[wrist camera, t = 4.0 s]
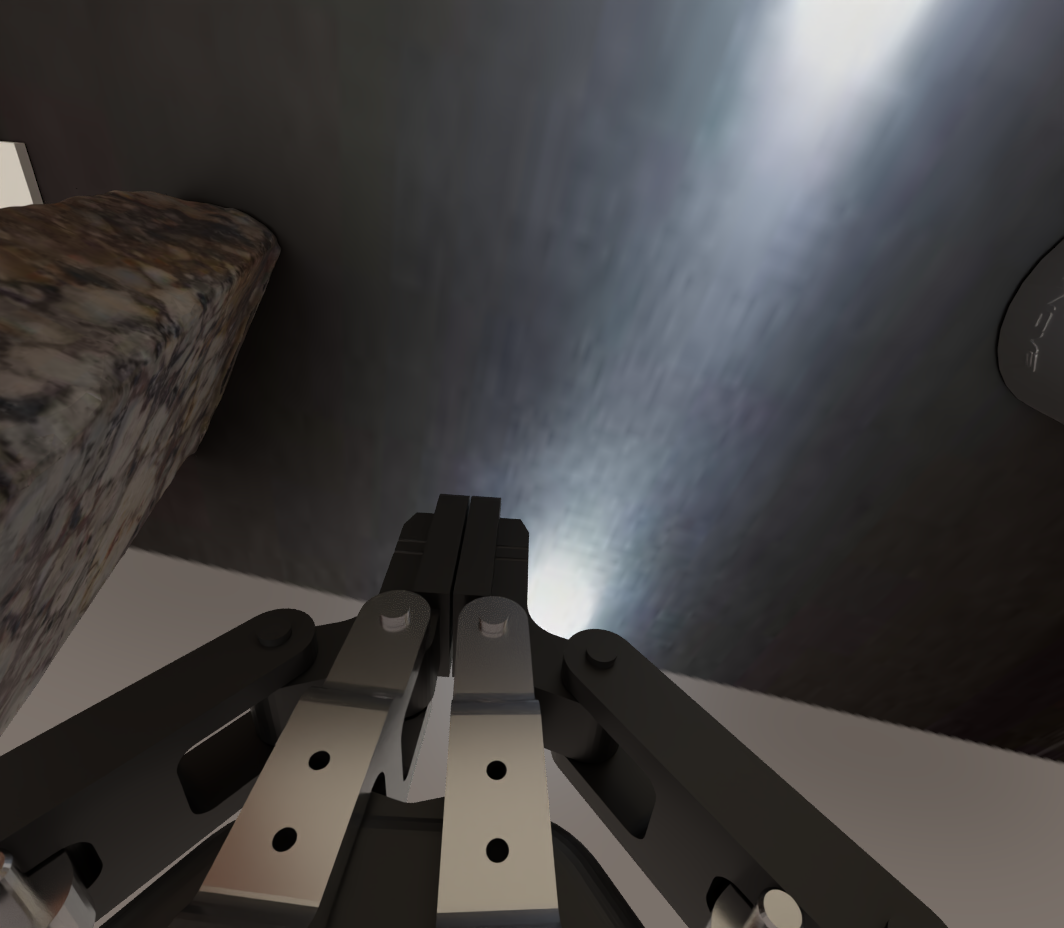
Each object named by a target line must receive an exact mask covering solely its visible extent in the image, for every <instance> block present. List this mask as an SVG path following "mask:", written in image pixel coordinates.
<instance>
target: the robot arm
mask: <svg viewBox="0 0 1064 928" xmlns="http://www.w3.org/2000/svg"><path fill="white" fill-rule="evenodd" d="M998 360H999V369H1000V372H1001V374H1002V377H1003V379H1004V382H1005V384H1006V386H1007V387H1008V388H1009V389H1010V391H1011V392H1012V393H1013V394H1014V395H1015V397H1016V398H1017V399H1019V400H1021V401H1022V402H1024V403H1025V404H1027V405H1029V406H1030V407H1032V408H1034V409H1036V410H1038V411H1039V412H1041V413H1043V414H1045V415H1047V416H1049V417H1051V418H1053V419H1055V420H1056V421H1058V422H1060V423H1062V424H1064V240H1062V241H1061V242H1060V243H1059V244H1058V245H1057V246H1056V247H1055V248H1054V249H1053V250H1052V251H1051V252H1050V253H1048V254H1047V255H1046V256H1045V257H1044V258H1043V259H1042V260H1041V261H1040V262H1039V264H1038V265H1037V266H1036V267H1035V268H1034V270H1033V271H1032V272H1031V273H1030V275H1029V276H1028V277H1027V278H1026V280H1025V281H1024V282H1023V283H1022V285H1021V287H1020V288H1019V290H1018V292H1017V294H1016V295H1015V297H1014V299H1013V300H1012V302H1011V304H1010V306H1009V308H1008V311H1007V313H1006V316H1005V319H1004V321H1003V324H1002V327H1001V330H1000V337H999V343H998ZM500 511H501V498H495V497H480V496H472V498H471V503H470V496H464V495H449V494H440V496H439V499H438V503H437V506H436V510H435V513H434V514H432V513H416V514H415V515H414V516H413V517H411V518H410V519H409V520H408V521H407V522H406V523H405V524H404V526H403V528H402V531H401V534H400V537H399V541H398V542H397V545H396V548H395V553H394V554H393V556H392V559H391V562H390V565H389V568H388V570H387V573H386V576H385V579H384V582H383V584H382V587H381V590H380V593H379V594H378V595H376V596H374V597H373V598H371V599H370V600H368V601H367V602H366V603H365V604H364V605H363V607H362V608H361V610H360V612H359V614H358V616H357V617H354V618H352V619H349V620H346V621H342V622H338V623H332V624H326V625H321V626H315V624H314V622H313V620H312V618H311V617H310V616H309V615H308V614H306V613H305V612H302V611H300V610H296V609H276V610H272V611H268V612H265V613H262V614H260V615H258V616H256V617H254V618H252V619H250V620H248V621H247V622H245V623H243V624H241V625H239V626H238V627H236V628H234V629H232V630H230V631H229V632H227V633H225V634H223V635H221V636H219V637H217V638H216V639H214V640H212V641H210V642H209V643H206V644H205V645H203V646H201V647H199V648H197V649H196V650H194V651H192V652H190V653H189V654H186V655H185V656H183V657H181V658H179V659H177V660H175V661H174V662H172V663H170V664H168V665H166V666H165V667H163V668H161V669H159V670H157V671H155V672H153V673H152V674H150V675H148V676H146V677H144V678H143V679H141V680H139V681H137V682H135V683H134V684H132V685H130V686H128V687H126V688H124V689H123V690H121V691H119V692H117V693H115V694H114V695H111V696H110V697H108V698H106V699H104V700H102V701H101V702H99V703H97V704H95V705H93V706H92V707H90V708H88V709H86V710H84V711H82V712H80V713H79V714H77V715H75V716H73V717H71V718H69V719H68V720H66V721H64V722H62V723H60V724H59V725H57V726H55V727H53V728H51V729H49V730H48V731H46V732H44V733H42V734H40V735H38V736H37V737H35V738H33V739H31V740H29V741H28V742H26V743H24V744H22V745H20V746H18V747H16V748H15V749H13V750H11V751H9V752H7V753H6V754H4V755H2V756H0V928H93V926H94V923H95V922H96V921H98V920H99V919H100V918H101V917H103V916H104V915H105V914H107V913H108V912H109V911H110V910H112V909H113V908H114V907H115V906H117V905H118V904H119V903H121V902H122V901H123V900H125V899H126V898H127V897H128V896H130V895H131V894H132V893H134V892H135V891H136V890H137V889H138V888H140V887H141V886H143V885H144V884H145V883H146V882H148V881H149V880H150V879H151V878H153V877H154V876H155V875H157V874H158V873H159V872H160V871H161V870H163V869H164V868H165V867H167V866H168V865H169V864H171V863H172V862H173V861H175V860H176V859H177V858H178V857H180V856H181V855H182V854H184V853H185V852H186V851H187V850H189V849H190V848H191V847H192V846H194V845H195V844H196V843H198V842H199V841H200V840H201V839H203V838H204V837H205V836H207V835H208V834H209V833H210V832H212V831H213V830H214V829H216V828H217V827H218V826H219V825H221V824H222V823H223V822H225V821H226V820H227V819H228V818H230V817H231V816H232V815H234V814H235V813H236V812H237V811H238V810H240V809H241V808H242V810H241V811H240V813H239V815H238V817H237V819H236V820H234V821H232V822H231V823H229V824H227V825H226V826H224V827H223V828H221V829H220V830H219V831H217V832H215V833H214V834H212V835H211V836H210V837H209V838H207V839H206V840H205V841H203V842H202V843H201V844H200V845H199V846H197V847H196V848H195V849H194V850H193V851H191V852H190V853H189V854H188V855H186V856H185V857H184V858H183V859H182V860H180V861H179V862H178V863H177V864H175V865H174V866H173V867H172V868H171V869H169V870H168V871H167V872H166V873H165V874H163V875H162V876H161V877H160V878H158V879H157V880H156V881H155V882H154V883H152V884H151V885H150V886H149V887H148V888H146V889H145V890H144V891H143V892H142V893H140V894H139V895H138V896H137V897H135V898H134V899H133V900H132V901H131V902H129V903H128V904H127V905H126V906H125V907H123V908H122V909H121V910H120V911H119V912H117V913H116V914H115V915H114V916H112V917H111V918H110V919H109V920H107V922H105V923H104V924H103V925H101V926H100V927H99V928H645V927H644V926H643V924H642V923H641V921H640V920H639V919H638V917H637V916H636V915H635V913H634V912H633V910H632V909H631V908H630V906H629V905H628V903H627V902H626V900H625V899H624V898H623V896H622V895H621V894H620V892H619V891H618V889H617V888H616V887H615V885H614V884H613V882H612V881H611V879H610V878H609V877H608V875H607V874H606V873H605V871H604V870H603V868H602V867H601V865H600V864H599V863H598V861H597V860H596V859H595V858H594V856H593V855H592V854H591V853H590V852H589V851H588V850H587V848H586V847H585V846H584V845H583V844H582V843H581V842H579V841H578V840H577V839H576V838H575V837H574V836H573V835H571V834H570V833H569V832H567V831H566V830H564V829H563V828H561V827H560V826H558V825H557V824H555V823H553V822H551V821H550V811H549V800H548V789H547V778H546V767H545V756H544V748H546V749H548V750H551V754H552V757H553V759H554V762H555V763H556V764H557V766H558V768H559V769H560V770H561V771H562V772H563V774H564V775H565V776H566V777H567V778H568V780H569V781H570V782H571V783H572V785H573V786H574V787H575V788H576V790H577V791H578V792H579V793H580V795H581V796H582V797H583V798H584V799H585V801H586V802H587V803H588V804H589V806H590V807H591V808H592V809H593V810H594V812H595V813H596V814H597V815H598V816H599V818H600V819H601V820H602V822H603V823H604V824H605V825H606V827H607V828H608V829H609V830H610V831H611V833H612V834H613V835H614V836H615V838H616V839H617V840H618V841H619V842H620V844H621V845H622V846H623V847H624V849H625V850H626V851H627V852H628V853H629V855H630V856H631V857H632V858H633V860H634V861H635V862H636V863H637V865H638V866H639V867H640V868H641V869H642V871H643V872H644V873H645V874H646V876H647V877H648V878H649V879H650V880H651V882H652V883H653V884H654V885H655V887H656V888H657V889H658V890H659V892H660V893H661V894H662V895H663V896H664V898H665V899H666V900H667V901H668V903H669V904H670V905H671V906H672V908H673V909H674V910H675V911H676V913H677V914H678V915H679V916H680V917H681V919H682V920H683V921H684V922H685V924H686V925H687V926H688V927H689V928H948V927H947V926H946V925H945V924H944V923H943V921H942V920H941V919H940V918H939V917H938V916H937V915H936V914H935V913H934V912H933V911H932V910H931V909H930V908H928V907H927V906H926V905H925V904H924V903H923V902H922V901H920V900H919V899H918V898H917V897H916V896H915V895H913V893H911V892H910V891H909V890H908V889H907V888H906V887H905V886H903V885H902V884H901V883H900V882H899V881H898V880H897V879H896V878H894V877H893V876H892V875H891V874H890V873H889V872H888V871H886V870H885V869H884V868H883V867H882V866H881V865H880V864H879V863H877V862H876V861H875V860H874V859H873V858H872V857H871V856H870V855H868V854H867V853H866V852H865V851H864V850H863V849H862V848H860V847H859V846H858V845H857V844H856V843H855V842H854V841H853V840H851V839H850V838H849V837H848V836H847V835H846V834H845V833H843V832H842V831H841V830H840V829H839V828H838V827H837V826H836V825H834V824H833V823H832V822H831V821H830V820H829V819H827V817H825V816H824V815H823V814H822V813H821V812H819V810H817V809H816V808H815V807H814V806H813V805H812V804H811V803H809V802H808V801H807V800H806V799H805V798H804V797H803V796H802V795H800V794H799V793H798V792H797V791H796V790H795V789H794V788H792V787H791V786H790V785H789V784H788V783H787V782H786V781H785V780H784V779H782V778H781V777H780V776H779V775H778V774H777V773H776V772H774V771H773V770H772V769H771V768H770V767H769V766H767V764H765V763H764V762H763V761H762V760H761V759H759V757H757V756H756V755H755V754H754V753H753V752H752V751H751V750H750V749H748V748H747V747H746V746H745V745H744V744H743V743H741V742H740V741H739V740H738V739H737V738H736V737H735V736H734V735H732V734H731V733H730V732H729V731H728V730H727V729H726V728H725V727H723V726H722V725H721V724H720V723H719V722H718V721H717V720H716V719H714V718H713V717H712V716H711V715H710V714H709V713H708V712H707V711H705V710H704V709H703V708H702V707H701V706H700V705H699V704H697V703H696V702H695V701H694V700H693V699H691V697H690V696H688V695H687V694H686V693H685V692H684V691H683V690H681V689H680V688H679V687H678V686H677V685H676V684H674V682H673V681H671V680H670V679H669V678H668V677H667V676H666V675H665V674H663V673H662V672H661V671H660V670H659V669H658V668H657V667H656V666H654V665H653V664H652V663H651V662H650V661H649V660H648V659H647V658H645V657H644V656H643V655H642V654H641V653H640V652H639V651H637V650H636V649H635V648H634V647H633V646H632V645H631V644H630V643H628V642H627V641H626V640H625V639H623V638H622V637H621V636H619V635H617V634H615V633H613V632H610V631H606V630H601V629H588V630H583V631H580V632H578V633H576V634H575V635H573V636H572V637H571V638H570V639H569V640H568V639H565V638H562V637H559V636H556V635H553V634H551V633H548V632H547V631H545V630H543V629H542V628H540V627H539V626H538V625H537V624H536V623H535V622H534V621H533V620H532V618H531V616H530V615H529V612H528V608H527V592H528V551H529V550H528V548H529V532H528V530H527V529H526V527H525V525H524V524H523V522H522V521H521V519H507V518H500ZM452 661H453V662H452ZM451 663H453V664H452V677H454V691H453V700H452V703H451V715H450V731H449V745H448V759H447V774H446V788H445V797H441V798H436V799H431V800H426V801H421V802H417V803H407V798H408V793H409V789H410V785H411V782H412V778H413V774H414V771H415V767H416V763H417V760H418V756H419V753H420V749H421V746H422V742H423V739H424V735H425V731H426V727H427V724H428V720H429V717H430V713H431V709H432V698H433V695H434V691H435V686H436V681H437V676H442V677H449V674H450V669H451ZM249 708H250V710H251V711H249V712H248V713H246V714H245V715H243V716H242V717H240V718H239V719H237V720H236V721H234V722H233V723H231V724H230V725H228V726H227V727H225V728H224V729H222V730H221V731H219V732H218V733H216V734H215V735H213V736H212V737H210V738H209V739H207V740H206V741H204V742H203V743H201V744H200V745H198V746H197V747H195V748H194V749H192V750H191V751H189V752H188V753H186V752H187V751H188V750H189V749H190V748H191V747H192V746H194V745H195V744H196V743H198V742H199V741H201V740H202V739H204V738H205V737H207V736H208V735H210V734H211V733H213V732H214V731H216V730H218V729H219V728H220V727H222V726H224V725H225V724H227V723H228V722H229V721H231V720H233V719H234V718H236V717H237V716H239V715H240V714H242V713H243V712H245V711H246V710H248V709H249ZM185 753H186V754H185ZM184 754H185V755H184Z"/></svg>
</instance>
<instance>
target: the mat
mask: <svg viewBox="0 0 1064 928" xmlns="http://www.w3.org/2000/svg"><path fill="white" fill-rule="evenodd" d="M30 204H43V201H42V198H41V195H40V192H39V188H38V185H37V182H36V179H35V176H34V172H33V169H32V166H31V163H30V160H29V156H28V153H27V150H26V147H25V144H24V143H17V142H5V141H0V208H5V207H11V206H26V205H30Z"/></svg>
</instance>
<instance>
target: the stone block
mask: <svg viewBox="0 0 1064 928" xmlns="http://www.w3.org/2000/svg"><path fill="white" fill-rule="evenodd" d="M76 189H77V188H76ZM166 195H167V194H166ZM166 195H163V194H159V193H155V192H150V191H137V192H124V191H117V190H115V191H110V192H107V193H105V194H97V195H95V196H75V197H71V198H68V199H65V200H63V201H61V202H59V203H54V204H30V205H26V206H11V207H5V208H0V736H1V735H2V734H3V732H4V731H5V729H6V728H7V727H8V725H9V724H10V722H11V721H12V719H13V718H14V717H15V715H16V714H17V712H18V710H19V709H20V708H21V707H22V705H23V704H24V702H25V701H26V699H27V698H28V697H29V695H30V694H31V692H32V691H33V689H34V688H35V687H36V685H37V683H38V682H39V680H40V679H41V677H42V676H43V674H44V673H45V671H46V670H47V668H48V667H49V665H50V663H51V662H52V660H53V659H54V657H55V656H56V654H57V653H58V651H59V650H60V648H61V647H62V645H63V644H64V642H65V641H66V639H67V638H68V636H69V635H70V633H71V632H72V631H73V629H74V627H75V626H76V625H77V623H78V622H79V620H80V619H81V617H82V616H83V614H84V613H85V611H86V610H87V608H88V607H89V605H90V604H91V602H92V601H93V599H94V598H95V596H96V595H97V593H98V592H99V590H100V589H101V587H102V586H103V584H104V583H105V581H106V580H107V578H108V577H109V576H110V574H111V572H112V571H113V569H114V568H115V566H116V565H117V563H118V562H119V560H120V559H121V558H122V556H123V555H124V554H125V552H126V550H127V549H128V547H129V545H130V544H131V542H132V541H133V539H134V538H135V536H136V535H137V533H138V532H139V530H140V529H141V527H142V526H143V524H144V522H145V521H146V519H147V518H148V516H149V515H150V513H151V512H152V510H153V508H154V507H155V505H156V503H157V502H158V500H159V499H160V498H161V496H162V494H163V493H164V491H165V490H166V488H167V487H168V486H169V484H170V483H171V481H172V479H173V478H174V476H175V474H176V472H177V471H178V469H179V468H180V466H181V465H182V464H183V462H184V461H185V460H186V458H187V457H189V456H190V455H192V454H194V453H195V452H196V451H197V449H198V446H199V444H200V442H201V441H202V439H203V437H204V435H205V433H206V431H207V429H208V426H209V423H210V420H211V418H212V416H213V414H214V412H215V410H216V408H217V406H218V404H219V402H220V400H221V398H222V396H223V393H224V391H225V388H226V386H227V384H228V381H229V379H230V376H231V374H232V371H233V367H234V364H235V361H236V358H237V355H238V353H239V351H240V348H241V346H242V343H243V341H244V339H245V336H246V334H247V331H248V329H249V327H250V324H251V322H252V319H253V317H254V315H255V312H256V310H257V308H258V305H259V303H260V301H261V299H262V296H263V294H264V292H265V290H266V287H267V284H268V281H269V278H270V276H271V273H272V271H273V269H274V267H275V264H276V262H277V260H278V257H279V255H280V252H281V248H280V246H279V245H278V243H277V238H276V237H275V235H274V234H273V233H272V232H271V231H270V230H269V229H268V228H267V227H266V226H265V225H264V224H262V223H260V222H258V221H257V220H255V219H254V218H252V217H251V216H249V215H248V214H246V213H243V212H241V211H239V210H237V209H234V208H223V207H220V206H217V205H214V204H209V203H199V202H192V201H185V200H181V199H178V198H175V197H171V196H166ZM196 456H197V455H196Z"/></svg>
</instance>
